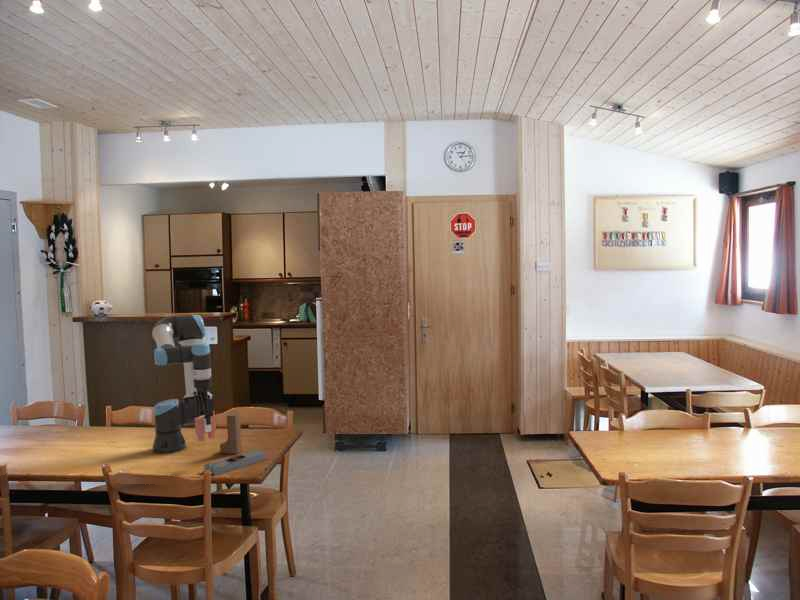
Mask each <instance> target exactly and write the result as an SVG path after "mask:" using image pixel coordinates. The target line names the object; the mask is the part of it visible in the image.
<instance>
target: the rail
mask: <svg viewBox="0 0 800 600" xmlns="http://www.w3.org/2000/svg"><path fill="white" fill-rule="evenodd" d="M267 457H268V456H267V452H266V451H262V450H259V449H254V450H251V451H247V452H244V453H239V454H238V455H237V454H235V455H233V456H230V457H227V458H223V459H219V460H216V461H213V462H209V463H205V464H204V465H203V467H204V471H205V470H210V471H211V472H212V476H214V475H215V476H217V474H218V475H221V474H224V473H223V472H225V473H227V472H226V471H228V472H230V470H231V471H234V470H237V469H236V468H238V469H240V467H241V468H243V466H244V467H247V466H250V465H252V464H253V465H254V464H256V463H259V462H263V461H266V460H268V458H267ZM233 469H234V470H233Z"/></svg>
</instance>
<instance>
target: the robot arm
mask: <svg viewBox="0 0 800 600" xmlns="http://www.w3.org/2000/svg"><path fill="white" fill-rule="evenodd" d="M151 330H152V331H151V335H152V339H153V340H154V341H155V343H156V348H155V349H154V350H153V352H154V353H153V354H154V355H153V357H154V364H155V365H156V366H168V365H175V364H176V365H177V364H183V372H184V383H185V395H184V396H183V398H182V399H183V400H182V401H180V399H178V398H171V399H166V400H163V401H160V402H157V403H156V404H155V405H154V407H153V411H154V412H153V417H154V430H155V436H154V438H153V439H154V440H153V442H152V443H153V444H152V452H153V453H156V454H169V453H175V452H178V451H181V450H184V449H185V448H186V447H187V444H186V439H185V437H184V435H183V432H182V426H188V425H195V418H197V417H201V416H205V417H203V418H204V430H205V434H207V433H206V432H210V431H211V420H210V417H211V416H213V415H214V394H213V393H212V394H211V390H210V388H211V387H212V386H213V382H212V381H213V380H212V367H211V348H210V344H209V342H206V341H205V342H204V341H203V340H204V339H203V338H205V337H206V327H205V323H204V320H203V318H202V316H201V315H199V314H187V315H185V314H184V315H175V316H172V315H171V316H166V317H164V318H162V319H160V320H158V321H157V322H156V323H155V325H154V326H153V327H152V329H151ZM175 340H178V344H179V345H180V346H179V345H178V346H176V344H175Z"/></svg>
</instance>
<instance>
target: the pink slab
mask: <svg viewBox="0 0 800 600" xmlns="http://www.w3.org/2000/svg"><path fill="white" fill-rule="evenodd" d="M203 417H205V416H201V417H197V418H195V424H194V426H195V427H194V429H195V430H194V431H195V435H197V437H196V438H197V441H199V442H203V441H205V434H207V438H208V439H214V438H215V432H216V430H217V429H216V415H215V414H213V416H211V417H210V420H211V431H210V432H206V433H205V430H204V418H203Z"/></svg>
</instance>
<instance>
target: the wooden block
mask: <svg viewBox="0 0 800 600" xmlns="http://www.w3.org/2000/svg"><path fill="white" fill-rule="evenodd" d="M226 427H227V440H225V441H223V442H221V443H220V444H219V449H220V450H219V451H220V454H228V455H229V454H232V455H237V454H238V455H239V454H241V452H242V451H243V446H242V433H241V431H242V429H241V416H240V413H230V414H227V415H226Z"/></svg>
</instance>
